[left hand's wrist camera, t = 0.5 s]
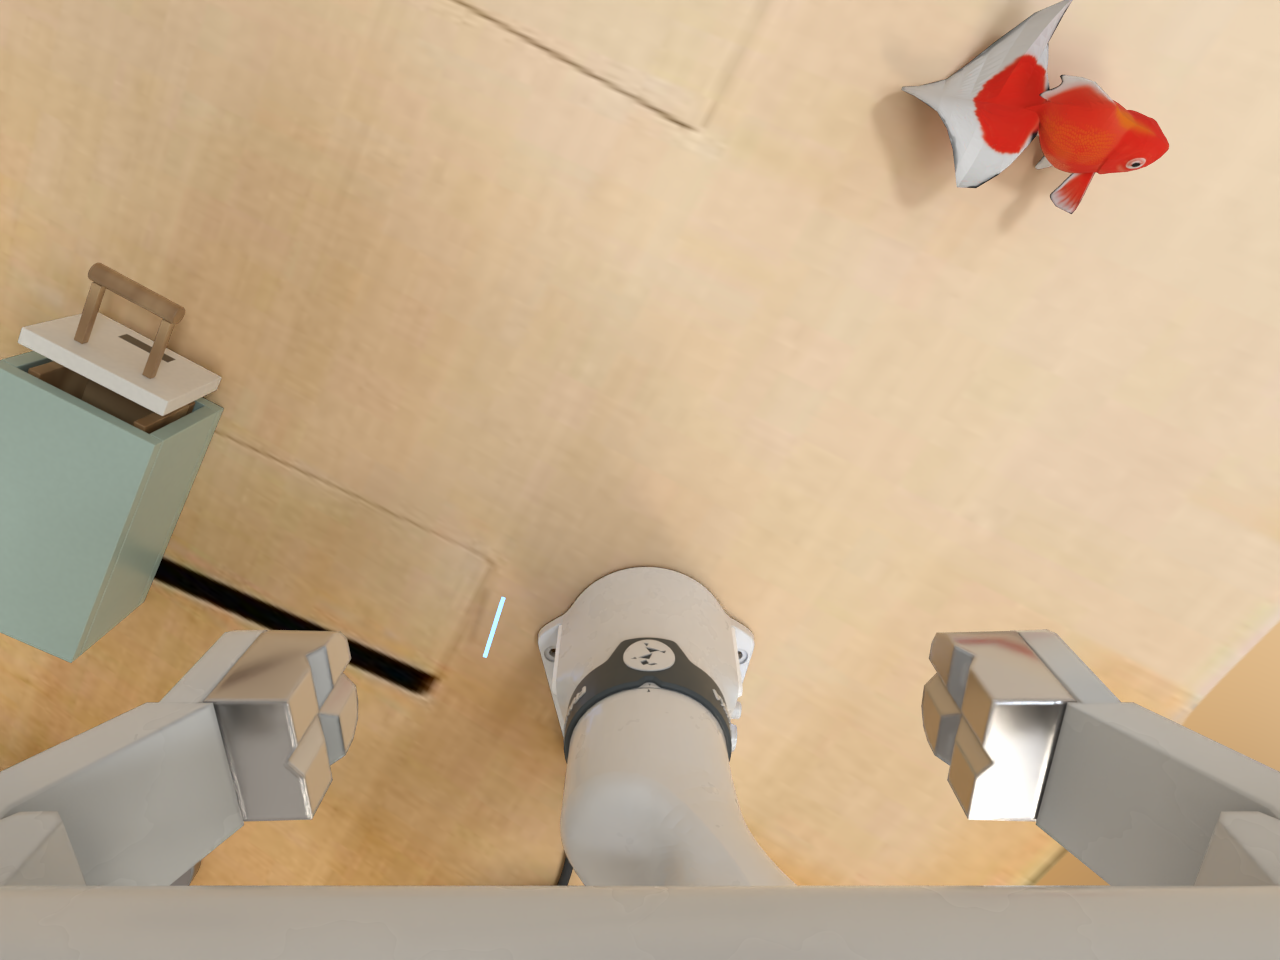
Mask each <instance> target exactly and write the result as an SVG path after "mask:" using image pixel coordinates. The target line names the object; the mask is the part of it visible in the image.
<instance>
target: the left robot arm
mask: <svg viewBox="0 0 1280 960" xmlns="http://www.w3.org/2000/svg"><path fill="white" fill-rule="evenodd" d="M504 601H505V598H504V597H501V600H500V604H499V607H498V610H497V613H496V616H495V620H494V623H493V626H492V629H491V632H490V636H489V639H488V642H487V645H486V648H485V652H484V655H483V657H486V658H487V655H488V652H489V648H490V645H491V642H492V639H493V636H494V633H495V629H496V626H497V623H498V620H499V617H500V613H501V610H502V607H503V604H504ZM538 646H539V650H540V653H541V657H542V661H543V664H544V668H545V672H546V675H547V679H548V683H549V686H550V690H551V694H552V697H553V701H554V705H555V708H556V712H557V716H558V719H559V723H560V727H561V730H562V734H563V738H564V753H565V759H566V763H567V768H566V776H565V784H564V794H563V803H562V811H561V819H560V833H561V840H562V844H563V847H564V851H565V853H566V859H565V863H564V867H563V870H562V874H561V877H560V879H559V882H558V885H557V886H169V885H171V884H172V883H173V882H174V881H176V880H177V879H178V878H179V877H181V876H182V875H183V874H184V873H185V872H187V871H188V870H189V869H190V868H192V867H193V866H194V865H195V864H197V863H198V862H199V861H200V860H201V859H203V858H204V857H205V856H206V855H208V854H209V853H210V852H211V851H213V850H214V849H215V848H216V847H217V846H219V845H220V844H221V843H222V842H224V841H225V840H226V839H227V838H229V837H230V836H231V835H232V834H233V833H235V832H236V831H237V830H238V829H240V828H241V827H242V826H243V825H244V822H243V821H274V820H309V819H312V818H313V816H314V814H315V813H316V811H317V809H318V807H319V805H320V803H321V801H322V799H323V797H324V795H325V793H326V792H327V790H328V788H329V786H330V784H331V782H332V780H333V779H332V774H331V768H330V765H332V764H333V763H335V762H336V761H338V760H339V759H340V758H342V757H343V756H345V755H346V753H347V751H348V749H349V747H350V745H351V743H352V741H353V738H354V734H355V729H356V725H357V720H358V696H357V690H356V685H355V684H354V683H353V682H352V681H351V680H350V679H349V678H348V677H347V676H346V675H345V674H344V673H343V671H344V670H345V668H346V666H347V665H348V663H349V661H350V660H351V655H350V650H349V646H348V641H347V638H346V637H345V636H344V635H343V634H342V633H341V632H336V631H287V630H270V631H267V630H233V631H229V632H225V633H224V634H223V635H222V636H221V637H220V638H219V639H218V640H217V641H216V642H215V643H214V644H213V646H212V647H211V648H210V649H209V650H208V651H207V652H206V653H205V654H204V655H203V656H202V657H201V658H200V659H199V660H198V661H197V662H196V664H195V665H194V666H193V667H192V668H191V669H190V670H189V671H188V672H187V673H186V674H185V675H184V676H183V677H182V678H181V679H180V681H179V682H178V683H177V684H176V685H175V686H174V687H173V688H172V689H171V690H170V691H169V692H168V693H167V694H166V695H165V696H164V697H163V699H162V700H161V701H160V702H159V703H145V704H143V705H140V706H138V707H136V708H134V709H132V710H130V711H128V712H126V713H124V714H121V715H119V716H117V717H115V718H113V719H111V720H109V721H107V722H105V723H102V724H100V725H98V726H96V727H94V728H92V729H90V730H88V731H85V732H83V733H81V734H79V735H77V736H75V737H73V738H71V739H69V740H66V741H64V742H62V743H60V744H58V745H56V746H54V747H52V748H50V749H47V750H45V751H43V752H41V753H39V754H37V755H35V756H33V757H30V758H28V759H26V760H24V761H22V762H20V763H18V764H16V765H14V766H11V767H9V768H7V769H5V770H3V771H1V772H0V960H1280V772H1279V771H1277V770H1274V769H1272V768H1270V767H1268V766H1266V765H1264V764H1262V763H1260V762H1258V761H1256V760H1253V759H1251V758H1249V757H1247V756H1245V755H1243V754H1241V753H1239V752H1237V751H1234V750H1232V749H1230V748H1228V747H1226V746H1224V745H1222V744H1220V743H1217V742H1215V741H1213V740H1211V739H1209V738H1207V737H1205V736H1203V735H1201V734H1199V733H1196V732H1194V731H1192V730H1190V729H1188V728H1186V727H1184V726H1182V725H1180V724H1177V723H1175V722H1173V721H1171V720H1169V719H1167V718H1165V717H1163V716H1161V715H1159V714H1156V713H1154V712H1152V711H1150V710H1148V709H1146V708H1144V707H1142V706H1140V705H1137V704H1135V703H1121V702H1120V701H1119V700H1118V698H1117V697H1116V696H1115V695H1114V694H1113V693H1112V692H1111V691H1110V690H1109V689H1108V688H1107V687H1106V686H1105V685H1104V684H1103V683H1102V681H1101V680H1100V679H1099V678H1098V677H1097V676H1096V675H1095V674H1094V673H1093V672H1092V671H1091V670H1090V669H1089V668H1088V667H1087V666H1086V664H1085V663H1084V662H1083V661H1082V660H1081V659H1080V658H1079V657H1078V656H1077V655H1076V654H1075V653H1074V652H1073V651H1072V650H1071V649H1070V648H1069V646H1068V645H1067V644H1066V643H1065V642H1064V641H1063V640H1062V639H1061V638H1060V637H1059V636H1058V635H1057V634H1056V633H1054V632H1052V631H1049V630H1047V629H1044V630H1017V631H994V632H949V633H936V635H935V637H934V639H933V641H932V644H931V649H930V655H929V660H930V661H931V663H932V665H933V666H934V668H935V670H936V671H937V673H936V674H935V675H934V676H933V677H932V678H931V679H930V680H929V681H928V682H927V683H926V684H925V685H924V691H923V698H922V718H923V727H924V731H925V734H926V737H927V741H928V743H929V745H930V747H931V749H932V751H933V753H934V755H935V756H937V757H938V758H940V759H941V760H942V761H944V762H945V763H947V764H948V765H950V768H949V774H948V779H947V780H948V782H949V784H950V786H951V788H952V790H953V792H954V793H955V795H956V797H957V799H958V801H959V803H960V805H961V807H962V809H963V810H964V812H965V814H966V816H967V818H968V819H969V820H1005V821H1036V825H1037V826H1038V827H1040V828H1041V829H1042V830H1043V831H1044V832H1046V833H1047V834H1048V835H1049V836H1051V837H1052V838H1053V839H1054V840H1055V841H1057V842H1058V843H1059V844H1060V845H1062V846H1063V847H1064V848H1065V849H1067V850H1068V851H1069V852H1070V853H1071V854H1073V855H1074V856H1075V857H1076V858H1078V859H1079V860H1080V861H1081V862H1082V863H1084V864H1085V865H1086V866H1087V867H1089V868H1090V869H1091V870H1092V871H1094V872H1095V873H1096V874H1097V875H1098V876H1100V877H1101V878H1102V879H1103V880H1105V881H1106V882H1107V883H1108V884H1110V885H1111V886H797V885H796V884H795V883H794V882H793V881H792V880H791V879H790V878H789V877H788V876H787V875H785V874H784V873H783V872H782V871H781V870H780V869H779V867H778V866H777V865H776V864H775V863H774V862H773V861H772V860H771V859H770V858H769V856H768V855H767V854H766V853H765V852H764V850H763V849H762V848H761V847H760V845H759V844H758V843H757V841H756V840H755V838H754V837H753V835H752V834H751V832H750V830H749V828H748V827H747V825H746V823H745V821H744V818H743V816H742V813H741V809H740V806H739V802H738V799H737V795H736V792H735V787H734V783H733V779H732V774H731V770H730V765H729V761H730V757H731V752H733V751H734V750H735V747H736V742H737V727H736V725H734V724H731V718H732V719H739V718H740V716H741V708H742V707H741V702H737V699H738V697H740V696H741V695H742V684H743V680H744V677H745V674H746V671H747V668H748V665H749V662H750V659H751V656H752V653H753V649H754V636H753V633H752V632H751V631H750V630H749V629H748V628H747V627H745V626H744V625H742V624H741V623H739V622H737V621H736V620H734V619H732V618H731V617H729V616H728V615H727V614H726V612H725V611H724V610H723V608H722V607H721V606H720V604H719V603H718V601H717V600H716V598H715V597H714V596H713V595H712V594H711V593H710V592H709V591H708V590H707V589H706V588H705V587H704V586H703V585H701V584H700V583H699V582H697V581H695V580H694V579H692V578H690V577H688V576H686V575H684V574H682V573H679V572H676V571H673V570H669V569H664V568H658V567H635V568H628V569H624V570H620V571H617V572H614V573H611V574H609V575H607V576H605V577H603V578H601V579H599V580H597V581H596V582H594V583H593V584H592V585H590V586H589V587H588V588H587V589H585V590H584V591H583V592H582V593H581V594H580V596H579V597H578V598H577V599H576V601H575V602H574V603H573V605H572V606H571V607H570V609H569V610H568V611H567V612H566V613H565V614H564V615H562V616H560V617H558V618H556V619H555V620H553V621H551V622H549V623H548V624H546V625H545V626H544V627H543V628H542V629H541V630H540V631H539V634H538ZM551 649H556V652H553V651H551ZM738 651H740V652H741V653H740V654H738ZM572 869H574V870H575V872H576V874H577V875H578V877H579V878H580V879H581V881H582V882H583V884H584V885H585V886H567V885H568V882H569V879H570V876H571V873H572Z"/></svg>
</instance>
